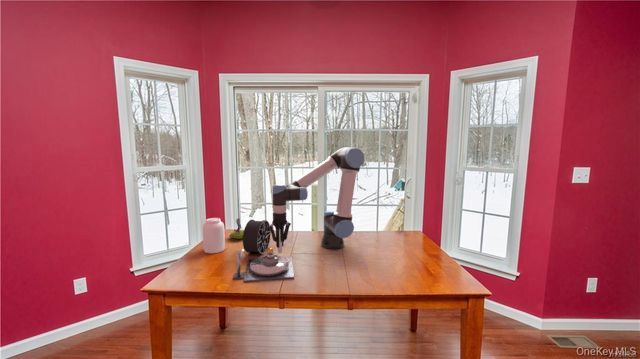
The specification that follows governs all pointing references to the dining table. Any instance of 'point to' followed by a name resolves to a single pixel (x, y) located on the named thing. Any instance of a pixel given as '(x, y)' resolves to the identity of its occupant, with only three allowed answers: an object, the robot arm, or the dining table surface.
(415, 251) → the dining table surface
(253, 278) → the turntable base
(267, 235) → the wheel rim
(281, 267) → the turntable
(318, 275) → the dining table surface
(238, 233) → the figurine
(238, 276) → the dial stand
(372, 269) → the dining table surface
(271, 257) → the cover
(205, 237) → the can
